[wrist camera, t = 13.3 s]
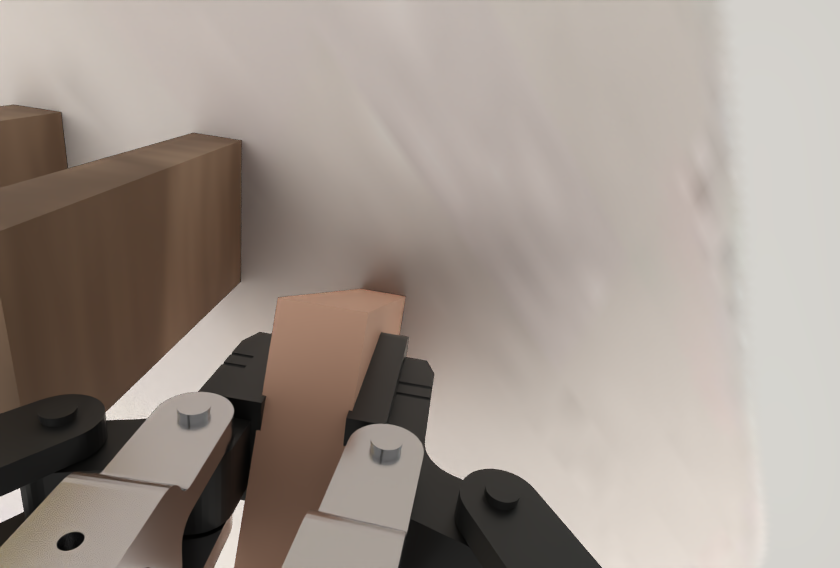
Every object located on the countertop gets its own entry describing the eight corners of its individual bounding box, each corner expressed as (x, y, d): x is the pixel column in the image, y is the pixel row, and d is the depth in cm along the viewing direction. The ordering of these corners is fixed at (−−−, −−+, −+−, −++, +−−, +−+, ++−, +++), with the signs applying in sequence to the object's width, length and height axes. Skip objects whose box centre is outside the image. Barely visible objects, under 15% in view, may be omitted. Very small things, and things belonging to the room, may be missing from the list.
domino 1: (197, 274, 20) (-46, 466, 11) (193, 132, 18) (-109, 218, 9) (240, 281, 20) (34, 480, 11) (241, 140, 18) (-11, 234, 9)
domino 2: (338, 427, 20) (231, 579, 10) (361, 288, 20) (277, 297, 10) (383, 435, 20) (322, 596, 10) (405, 295, 20) (368, 312, 10)
